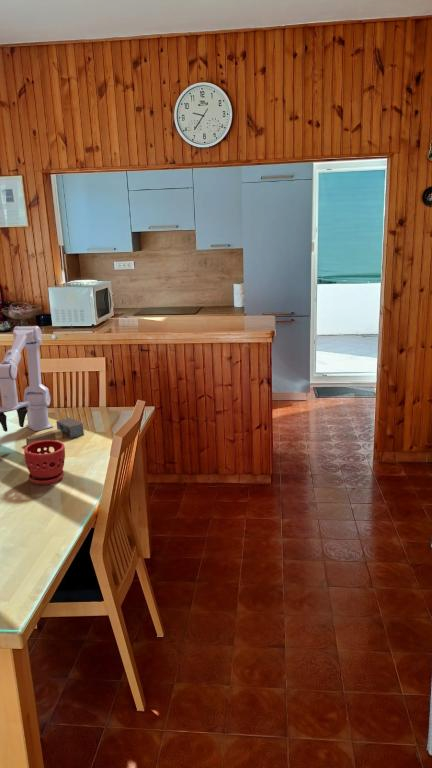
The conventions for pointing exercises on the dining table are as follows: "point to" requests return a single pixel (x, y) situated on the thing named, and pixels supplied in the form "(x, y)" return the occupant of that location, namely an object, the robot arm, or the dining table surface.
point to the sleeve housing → (70, 427)
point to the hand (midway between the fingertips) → (13, 428)
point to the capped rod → (45, 436)
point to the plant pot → (45, 461)
